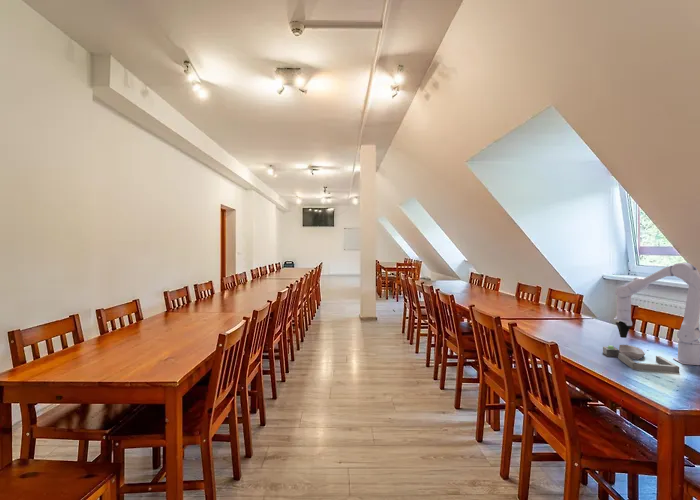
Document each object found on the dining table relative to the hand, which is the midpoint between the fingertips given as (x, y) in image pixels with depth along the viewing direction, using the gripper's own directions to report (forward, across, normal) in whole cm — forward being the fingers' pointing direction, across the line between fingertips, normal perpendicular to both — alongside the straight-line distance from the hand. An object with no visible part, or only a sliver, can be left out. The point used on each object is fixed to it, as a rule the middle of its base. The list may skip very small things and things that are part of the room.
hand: (623, 337), depth 187 cm
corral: (+6, +25, 0) cm, 26 cm away
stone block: (+7, +10, 0) cm, 12 cm away
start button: (+6, +11, -9) cm, 15 cm away
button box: (+6, +11, -9) cm, 16 cm away
